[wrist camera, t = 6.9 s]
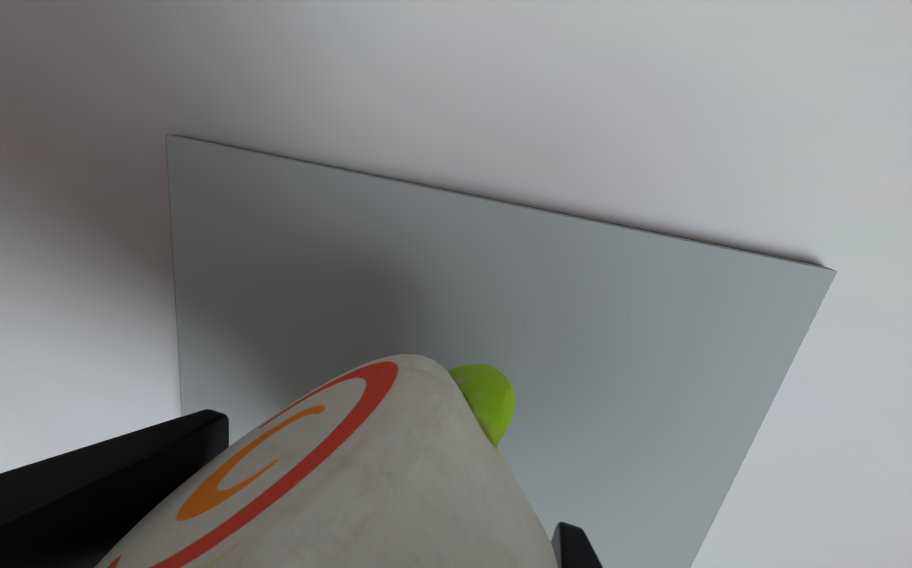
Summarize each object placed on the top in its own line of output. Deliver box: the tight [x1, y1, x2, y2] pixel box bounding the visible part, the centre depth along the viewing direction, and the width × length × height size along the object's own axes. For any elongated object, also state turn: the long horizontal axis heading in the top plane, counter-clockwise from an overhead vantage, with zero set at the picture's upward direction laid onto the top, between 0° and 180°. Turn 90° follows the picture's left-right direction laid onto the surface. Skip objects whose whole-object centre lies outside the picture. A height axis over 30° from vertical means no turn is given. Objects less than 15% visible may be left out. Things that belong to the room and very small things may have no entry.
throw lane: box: [166, 135, 837, 568], centre depth 10 cm, size 11×14×1 cm
